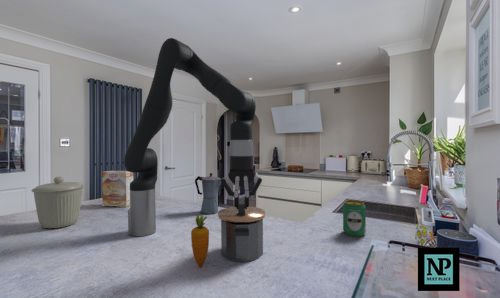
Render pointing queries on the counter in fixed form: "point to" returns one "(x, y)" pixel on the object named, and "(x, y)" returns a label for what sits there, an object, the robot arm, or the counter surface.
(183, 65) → the robot arm
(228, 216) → the lid
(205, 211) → the moka pot
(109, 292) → the counter surface
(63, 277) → the counter surface
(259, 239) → the cooking pot
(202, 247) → the carrot
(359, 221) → the beverage can
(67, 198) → the canister
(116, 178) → the coffeecake box
